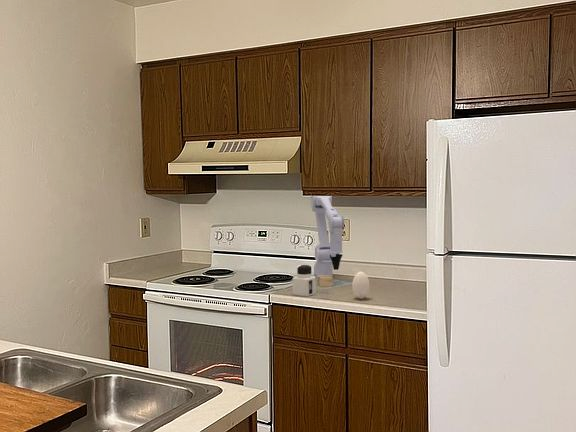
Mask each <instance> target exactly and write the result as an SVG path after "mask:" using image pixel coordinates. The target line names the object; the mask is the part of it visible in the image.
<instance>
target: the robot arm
mask: <svg viewBox="0 0 576 432" xmlns="http://www.w3.org/2000/svg"><path fill="white" fill-rule="evenodd" d="M332 201H333V198H332V195H331V196H312V195H311V196H310V206H311V210H312V212H314V213H315V219H316V227H317V234H318V242H319V243H318V244H317V245H316V246H315V247H314V259H315V260H316V262H315V263H314V264H313V276H314V277H316V279H318V276H321V275H331V276H332V277H334V276H333V270H336V271H339V269H340V264H341V260H342V257H343V254H341V253H343V228H344V225H345V219H344V217H343V216H342V215H339V213H338V211H337V210H336V208H335V207H333V206H332ZM327 221H328V222H327ZM327 223H328V226H327ZM328 231H329V234H328ZM328 235H329V236H328Z"/></svg>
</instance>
